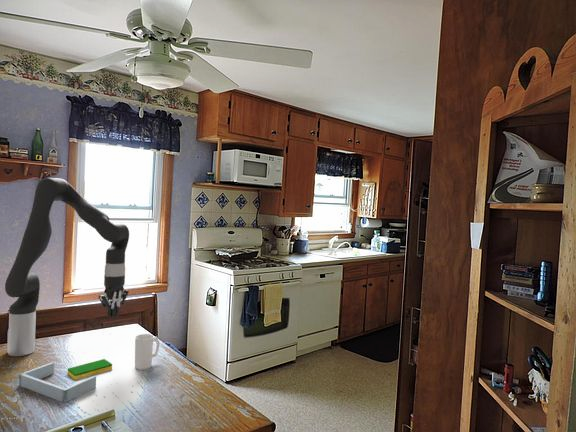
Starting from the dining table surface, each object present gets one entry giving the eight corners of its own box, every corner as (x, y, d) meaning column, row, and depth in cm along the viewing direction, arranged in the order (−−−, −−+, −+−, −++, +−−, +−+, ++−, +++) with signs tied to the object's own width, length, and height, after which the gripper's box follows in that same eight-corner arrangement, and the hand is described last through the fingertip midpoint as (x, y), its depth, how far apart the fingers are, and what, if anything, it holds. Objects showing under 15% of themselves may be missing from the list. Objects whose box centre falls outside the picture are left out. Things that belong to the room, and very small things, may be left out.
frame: (19, 385, 138) (19, 374, 138) (51, 372, 149) (52, 362, 149) (64, 402, 129) (64, 390, 128) (95, 387, 140) (96, 376, 139)
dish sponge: (112, 370, 155) (112, 364, 155) (74, 381, 144) (75, 374, 144) (104, 364, 159) (104, 358, 159) (67, 374, 149) (67, 368, 149)
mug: (139, 371, 154) (140, 341, 153) (131, 366, 158) (132, 336, 158) (162, 364, 161) (164, 335, 161) (154, 359, 166) (155, 331, 165)
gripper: (121, 270, 166) (119, 311, 167) (93, 275, 154) (91, 319, 154) (135, 272, 163) (133, 314, 164) (107, 277, 151) (105, 322, 151)
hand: (113, 316), depth 159 cm, fingers closed
